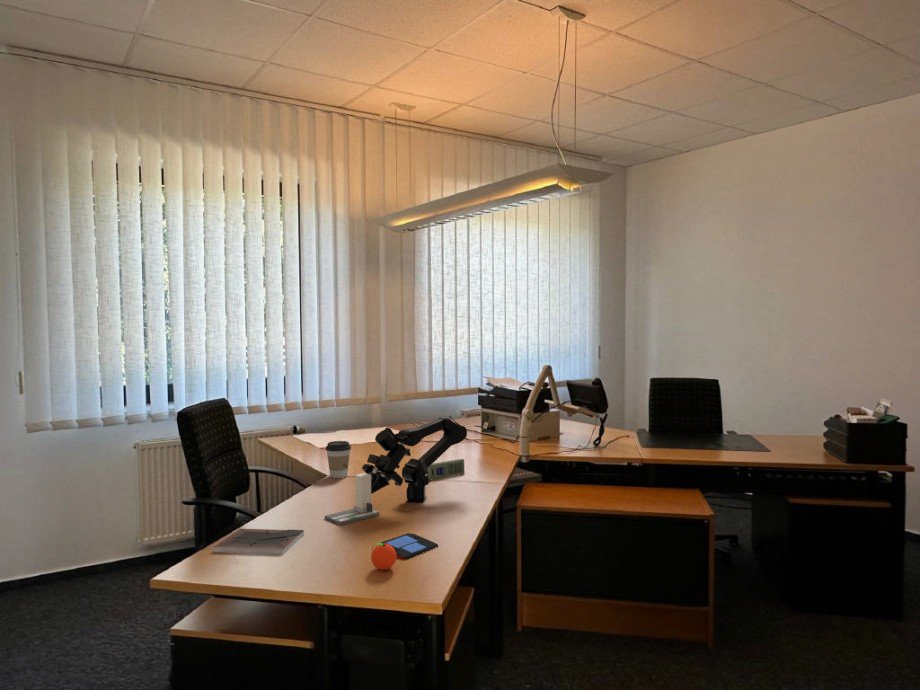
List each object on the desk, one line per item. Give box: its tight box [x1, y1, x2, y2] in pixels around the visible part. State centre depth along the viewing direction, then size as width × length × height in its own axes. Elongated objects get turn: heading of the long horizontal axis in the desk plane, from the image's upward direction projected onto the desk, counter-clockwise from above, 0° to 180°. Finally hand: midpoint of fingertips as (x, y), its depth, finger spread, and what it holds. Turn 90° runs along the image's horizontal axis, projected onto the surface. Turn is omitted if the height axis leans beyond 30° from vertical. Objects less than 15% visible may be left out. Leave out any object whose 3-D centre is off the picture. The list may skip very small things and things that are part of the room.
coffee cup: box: [324, 440, 352, 479], centre depth 275 cm, size 11×11×15 cm
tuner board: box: [324, 508, 380, 526], centre depth 218 cm, size 16×10×1 cm, turn 133°
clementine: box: [370, 542, 397, 571], centre depth 172 cm, size 8×7×7 cm
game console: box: [380, 532, 439, 560], centre depth 187 cm, size 14×13×2 cm
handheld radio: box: [426, 458, 466, 481], centre depth 273 cm, size 7×3×25 cm
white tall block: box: [353, 472, 374, 513], centre depth 220 cm, size 5×7×13 cm
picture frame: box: [213, 528, 305, 555], centre depth 192 cm, size 16×2×22 cm
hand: (368, 494), depth 222 cm, fingers closed, pressing on white tall block
